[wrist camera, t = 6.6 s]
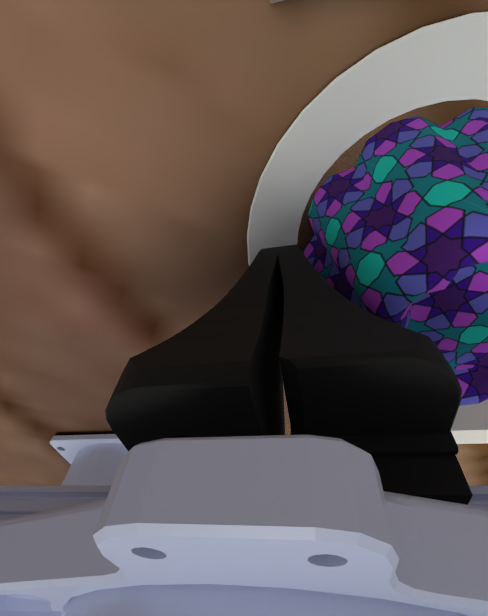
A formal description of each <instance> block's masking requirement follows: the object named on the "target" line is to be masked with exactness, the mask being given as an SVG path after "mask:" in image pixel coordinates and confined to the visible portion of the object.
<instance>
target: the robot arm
mask: <svg viewBox="0 0 488 616" xmlns="http://www.w3.org/2000/svg"><path fill="white" fill-rule="evenodd" d="M283 383H284V389H285V395H286V400H287V406H288V412H289V418H290V424H291V435H285V423H284V399H283ZM461 395H462V389H461V386H460V383H459V381H458V378H457V377H456V375H455V373H454V371H453V369H452V367H451V366H450V364H449V362H448V361H447V360H446V358H445V357H444V355H443V354H442V353H441V351H440V350H439V349H438V347H437V346H436V345H435V343H434V342H433V341H432V339H431V338H430V337H429V336H426V335H424V334H421V333H418V332H415V331H412V330H410V329H407V328H404V327H401V326H398V325H396V324H393V323H391V322H389V321H386V320H384V319H382V318H380V317H378V316H376V315H374V314H372V313H370V312H368V311H366V310H364V309H363V308H361V307H359V306H357V305H356V304H354V303H352V302H351V301H349V300H348V299H346V298H345V297H344V296H343V295H341V294H340V293H339V292H337V291H336V290H335V289H334V288H333V287H332V286H331V285H330V284H328V283H327V282H326V281H325V280H324V279H323V278H322V277H321V275H320V274H319V273H318V272H317V271H316V270H315V269H314V267H313V266H312V265H311V264H310V262H309V261H308V260H307V258H306V257H305V255H304V254H303V252H302V250H301V247H300V246H298V245H297V244H296V245H288V246H281V247H273V248H265V249H261V250H260V251H259V252H258V254H257V255H256V257H255V258H254V260H253V262H252V263H251V264H250V266H249V267H248V269H247V270H246V272H245V273H244V274H243V276H242V277H241V278H240V280H239V281H238V282H237V283H236V285H235V286H234V287H233V288H232V289H231V290H230V292H229V293H228V294H227V295H226V296H225V297H224V298H223V299H222V300H221V301H220V302H219V303H218V304H217V305H215V306H214V307H213V308H212V309H211V310H210V311H209V312H207V313H206V314H205V315H203V316H202V317H201V318H199V319H198V320H197V321H195V322H194V323H193V324H191V325H190V326H189V327H187V328H186V329H184V330H182V331H181V332H179V333H178V334H176V335H174V336H173V337H171V338H169V339H168V340H166V341H164V342H162V343H160V344H159V345H157V346H154V347H152V348H150V349H148V350H146V351H144V352H142V353H140V354H138V355H136V356H134V357H132V358H130V360H129V361H128V363H127V365H126V367H125V369H124V371H123V373H122V375H121V377H120V379H119V381H118V383H117V386H116V388H115V390H114V392H113V394H112V396H111V399H110V401H109V403H108V405H107V408H106V419H107V421H108V423H109V425H110V427H111V429H112V430H113V432H114V433H115V434H92V435H57V436H53V437H52V439H51V441H50V444H51V445H52V446H53V447H54V448H55V449H56V450H57V451H58V452H59V453H60V454H61V455H62V456H63V457H64V458H65V459H66V460H67V461H68V462H69V463H70V464H71V466H70V468H69V470H68V472H67V474H66V476H65V478H64V480H63V482H62V484H61V485H0V616H488V486H469V485H468V483H467V481H466V478H465V476H464V474H463V471H462V469H461V467H460V465H459V462H458V460H457V458H456V455H455V454H457V453H458V446H457V444H456V441H455V439H454V437H453V435H452V432H451V428H452V425H453V422H454V420H455V417H456V414H457V411H458V408H459V405H460V402H461Z"/></svg>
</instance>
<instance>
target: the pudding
mask: <svg viewBox="0 0 488 616" xmlns="http://www.w3.org/2000/svg"><path fill="white" fill-rule="evenodd" d="M468 99H478V100H485V101H488V12H479V13H470V14H467V15H463V16H460V17H456V18H453V19H449V20H446V21H442V22H439V23H435V24H432V25H428V26H425V27H421V28H419V29H417V30H415V31H413V32H411V33H409V34H407V35H405V36H403V37H401V38H399V39H397V40H395V41H393V42H391V43H389V44H387V45H385V46H382V47H380V48H378V49H376V50H375V51H373V52H372V53H371V54H369V55H368V56H366V57H365V58H363V59H362V60H361V61H359V62H358V63H356V64H355V65H354V66H352V67H351V68H349V69H348V70H346V71H345V72H344V73H342V74H341V75H339V76H338V77H337V78H335V79H334V80H333V81H332V82H331V83H330V84H329V85H328V86H327V87H326V88H325V89H324V90H323V91H322V92H321V93H320V94H319V95H318V96H317V97H316V98H315V99H314V100H313V101H312V102H311V103H310V104H309V105H308V106H306V107H305V108H304V109H303V110H302V112H301V113H300V114H299V116H298V117H297V118H296V120H295V121H294V122H293V124H292V125H291V127H290V128H289V129H288V131H287V132H286V133H285V135H284V136H283V137H282V139H281V140H280V141H279V143H278V144H277V146H276V148H275V150H274V152H273V154H272V156H271V157H270V159H269V161H268V163H267V165H266V167H265V169H264V171H263V173H262V175H261V177H260V180H259V183H258V186H257V189H256V192H255V195H254V199H253V202H252V205H251V208H250V216H249V223H248V231H247V250H248V264H249V266H250V264H251V263H252V262H253V260H254V258H255V257H256V255H257V254H258V252H259V251H260V250H261V249H265V248H273V247H281V246H288V245H296V244H297V242H298V231H299V227H300V223H301V219H302V215H303V212H304V210H305V208H306V205H307V203H308V201H309V198H310V196H311V194H312V192H313V191H314V189H315V188H316V186H317V184H318V183H319V181H320V180H321V178H322V177H323V175H324V174H325V172H326V171H327V170H328V169H329V168H330V167H331V166H332V164H333V163H334V162H335V161H336V160H337V159H338V158H339V157H340V155H341V154H342V153H343V152H345V151H346V150H347V149H348V148H349V147H351V146H352V145H353V144H354V143H355V142H356V141H358V140H359V139H360V138H361V137H362V136H364V135H365V134H367V133H368V132H370V131H372V130H373V129H375V128H377V127H378V126H380V125H381V124H383V123H385V122H386V121H388V120H390V119H392V118H395V117H397V116H399V115H402V114H404V113H406V112H409V111H411V110H413V109H416V108H419V107H423V106H427V105H431V104H435V103H439V102H444V101H452V100H468ZM308 218H309V221H310V223H311V226H312V229H313V231H314V234H315V236H314V237H313V238H312V240H311V241H310V242H309V244H308V245H307V246H306V247H305V249H304V250H303V251H302V252H303V254H304V255H305V257H306V258H307V260H308V261H309V262H310V264H311V265H312V266H313V267H314V269H315V270H316V271H317V272H318V273H319V274H320V275H321V277H322V278H323V279H324V280H325V281H326V282H327V283H328V284H330V285H331V286H332V287H333V288H334V289H335V290H336V291H337V292H339V293H340V294H341V295H343V296H344V297H345V298H346V299H348V300H349V301H351V302H352V303H354V304H356V305H357V306H359V307H361V308H363V309H364V310H366V311H368V312H370V313H372V314H374V315H376V316H378V317H380V318H382V319H384V320H386V321H389V322H391V323H393V324H396V325H398V326H401V327H404V328H407V329H410V330H412V331H415V332H418V333H421V334H424V335H426V336H429V337H430V338H431V339H432V341H433V342H434V343H435V345H436V346H437V347H438V349H439V350H440V351H441V353H442V354H443V355H444V357H445V358H446V360H447V361H448V362H449V364H450V366H451V367H452V369H453V371H454V373H455V375H456V377H457V378H458V381H459V383H460V386H461V389H462V395H461V402H460V405H459V406H463V405H471V404H479V403H481V402H483V401H485V400H487V399H488V108H470V109H469V110H467V111H465V112H464V113H462V114H460V115H459V116H457V117H456V118H454V119H452V120H451V121H449V122H447V123H446V124H444V125H442V126H440V125H437V124H435V123H433V122H430V121H428V120H426V119H424V118H421V117H419V116H414V117H410V118H407V119H403V120H400V121H397V122H393V123H390V124H389V125H387V126H386V127H385V128H383V129H382V130H381V131H379V132H378V133H376V134H375V135H374V136H372V137H371V138H370V139H368V140H367V141H366V143H365V146H364V148H363V150H362V152H361V154H360V157H359V159H358V161H357V163H356V166H355V168H353V169H350V170H347V171H344V172H341V173H338V174H335V175H333V176H330V177H328V179H327V180H326V181H325V182H324V183H323V185H322V186H321V187H320V188H319V190H318V191H317V192H316V193H315V194H314V196H313V200H312V203H311V206H310V209H309V213H308Z"/></svg>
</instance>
